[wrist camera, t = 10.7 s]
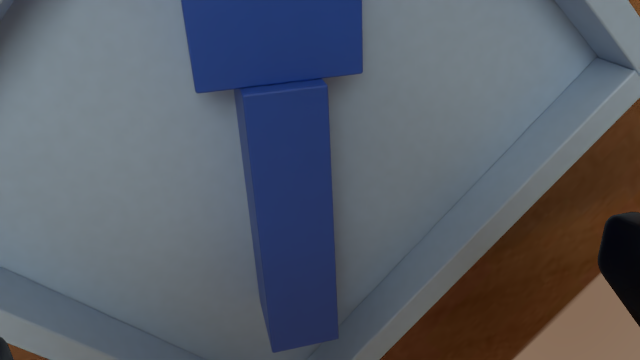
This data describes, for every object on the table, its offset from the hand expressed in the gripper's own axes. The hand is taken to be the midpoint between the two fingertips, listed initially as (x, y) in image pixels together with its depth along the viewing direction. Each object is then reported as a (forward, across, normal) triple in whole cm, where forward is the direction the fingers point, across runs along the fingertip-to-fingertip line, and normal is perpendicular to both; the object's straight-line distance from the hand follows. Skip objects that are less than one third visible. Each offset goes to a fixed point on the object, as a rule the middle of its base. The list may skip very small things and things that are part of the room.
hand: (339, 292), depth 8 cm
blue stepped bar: (+7, 0, 0) cm, 7 cm away
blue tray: (+7, 0, 0) cm, 7 cm away
